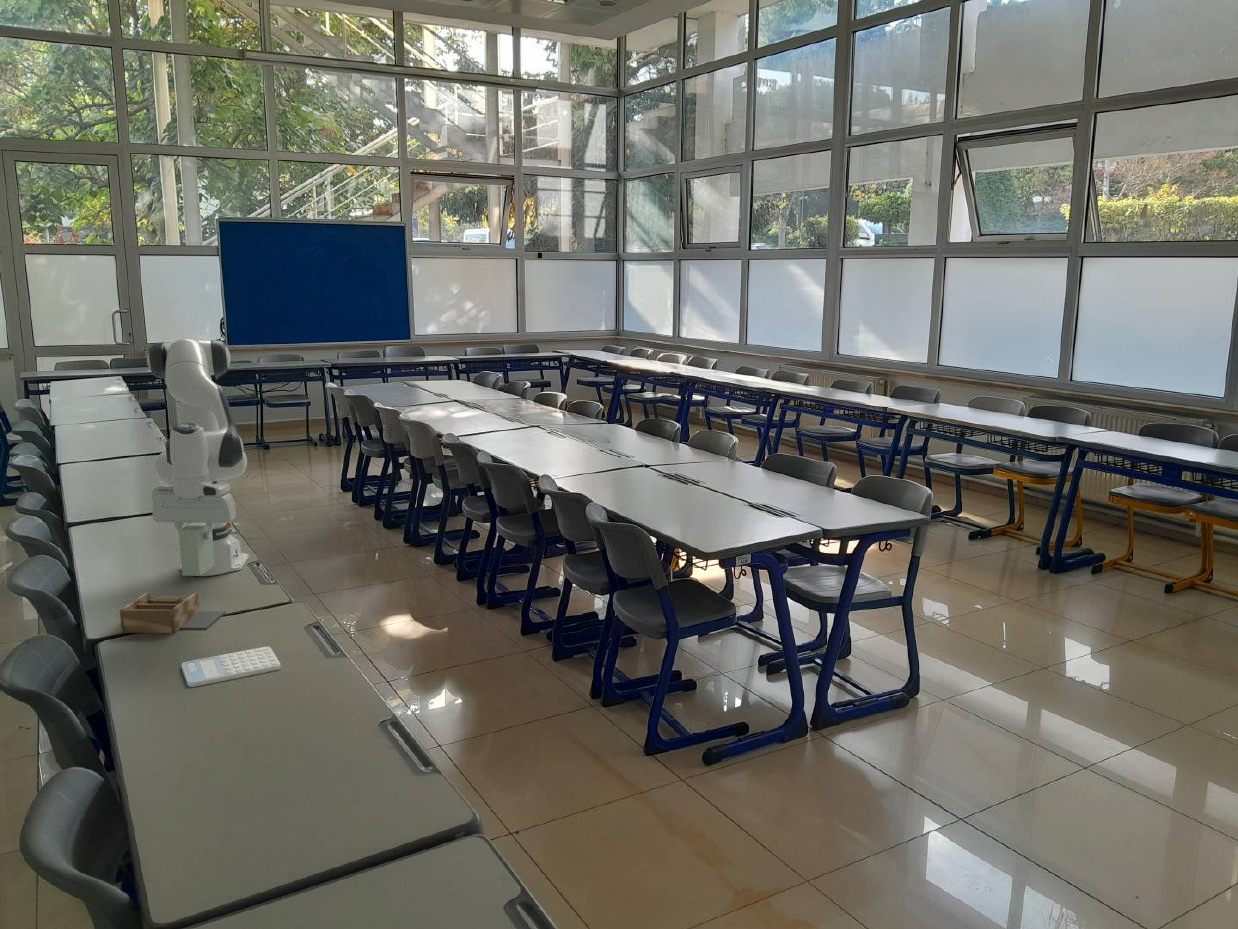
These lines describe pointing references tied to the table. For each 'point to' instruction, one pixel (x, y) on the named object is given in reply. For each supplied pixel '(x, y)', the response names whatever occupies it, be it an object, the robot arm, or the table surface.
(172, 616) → the rack
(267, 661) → the calculator
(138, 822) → the table surface
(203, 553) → the sage green thick block
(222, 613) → the mat
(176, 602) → the offcut upper
